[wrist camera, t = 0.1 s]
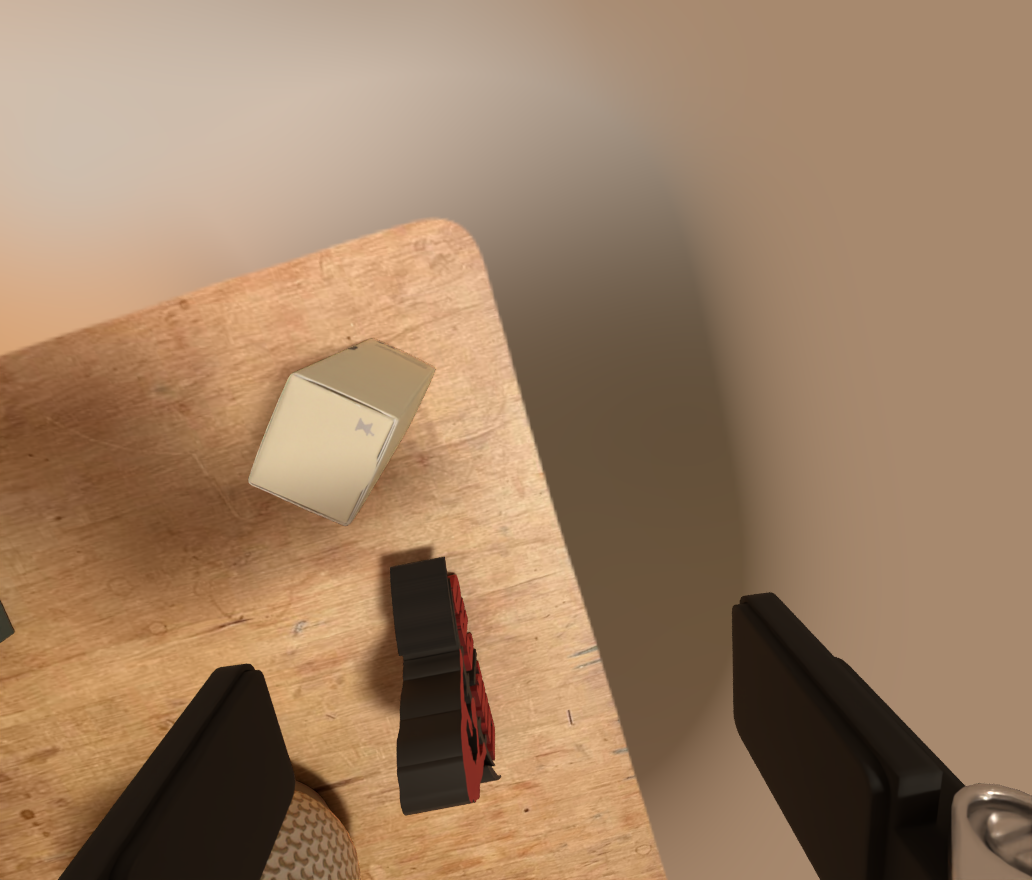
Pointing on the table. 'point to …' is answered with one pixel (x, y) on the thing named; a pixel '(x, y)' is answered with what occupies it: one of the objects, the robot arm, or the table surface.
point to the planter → (311, 843)
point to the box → (340, 428)
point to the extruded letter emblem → (438, 693)
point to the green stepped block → (4, 625)
